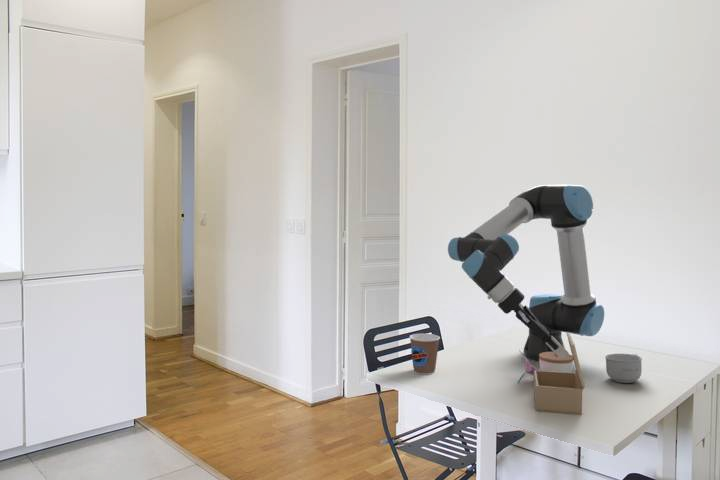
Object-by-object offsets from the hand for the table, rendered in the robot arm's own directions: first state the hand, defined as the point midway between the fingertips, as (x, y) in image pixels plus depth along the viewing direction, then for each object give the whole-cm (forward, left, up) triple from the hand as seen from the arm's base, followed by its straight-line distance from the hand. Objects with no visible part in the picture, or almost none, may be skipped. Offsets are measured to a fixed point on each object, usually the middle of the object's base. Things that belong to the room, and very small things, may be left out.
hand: (564, 356), depth 175 cm
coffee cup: (-49, -2, -14) cm, 51 cm away
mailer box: (-2, -1, -14) cm, 14 cm away
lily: (-17, +12, -14) cm, 25 cm away
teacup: (+4, +36, -14) cm, 39 cm away
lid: (+2, +1, -1) cm, 2 cm away
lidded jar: (-13, +21, -14) cm, 29 cm away
